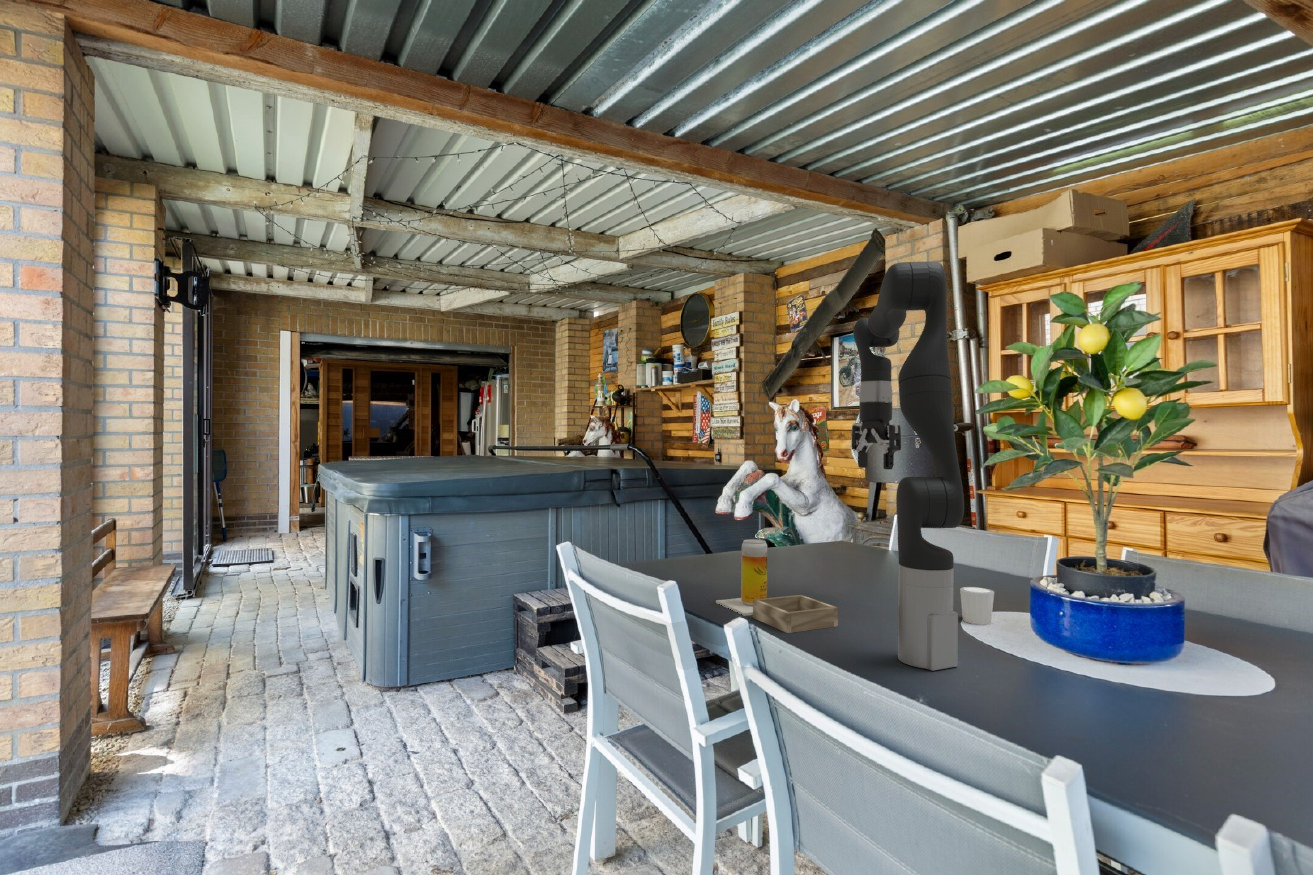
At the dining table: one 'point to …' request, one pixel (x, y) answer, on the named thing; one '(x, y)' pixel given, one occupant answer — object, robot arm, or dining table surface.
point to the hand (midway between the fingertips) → (875, 468)
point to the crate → (795, 613)
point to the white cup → (977, 605)
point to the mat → (736, 606)
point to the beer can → (753, 571)
